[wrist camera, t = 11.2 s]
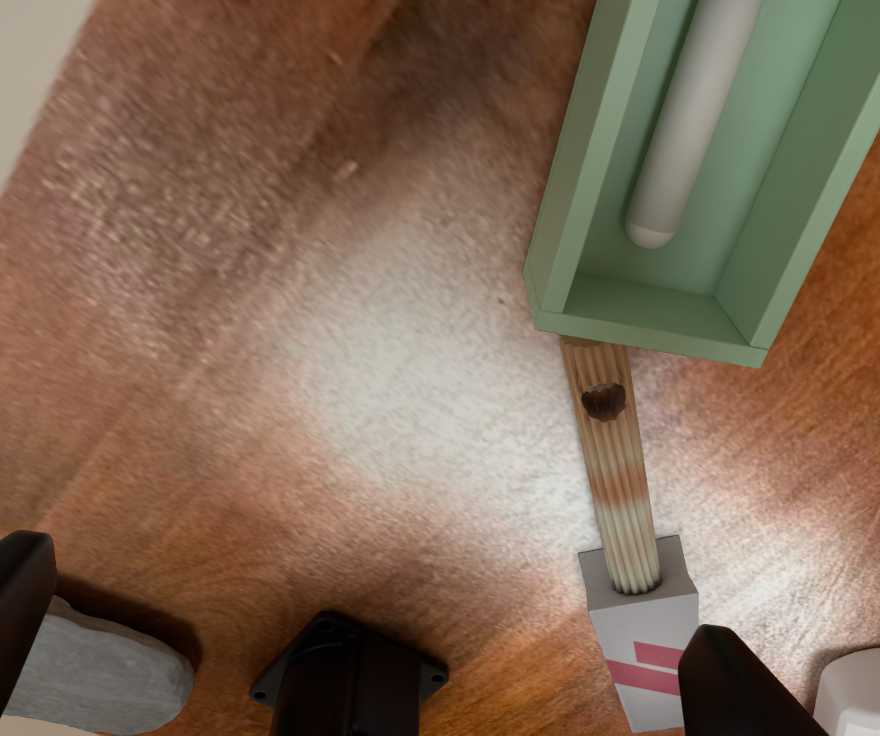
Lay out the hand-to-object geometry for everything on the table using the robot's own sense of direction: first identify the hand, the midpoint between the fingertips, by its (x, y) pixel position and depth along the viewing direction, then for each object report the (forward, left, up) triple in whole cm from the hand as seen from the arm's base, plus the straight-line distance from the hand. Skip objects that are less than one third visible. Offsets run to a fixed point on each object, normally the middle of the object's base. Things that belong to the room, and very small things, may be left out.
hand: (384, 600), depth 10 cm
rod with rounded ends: (+7, -3, -12) cm, 14 cm away
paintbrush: (-5, -13, -10) cm, 17 cm away
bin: (+7, -4, -13) cm, 15 cm away
